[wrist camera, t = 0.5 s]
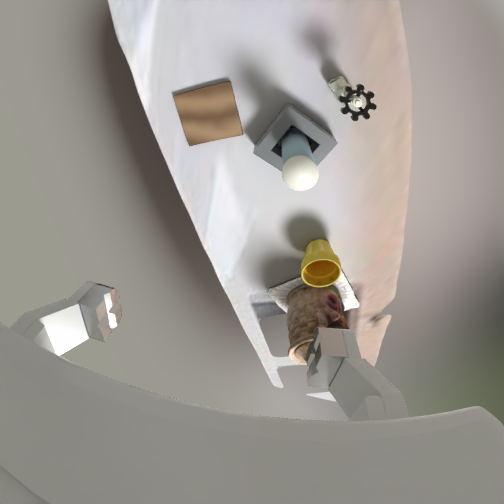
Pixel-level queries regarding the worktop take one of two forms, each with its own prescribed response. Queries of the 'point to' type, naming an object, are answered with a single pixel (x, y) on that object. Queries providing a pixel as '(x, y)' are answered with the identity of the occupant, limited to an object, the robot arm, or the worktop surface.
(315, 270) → the plant pot
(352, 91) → the valve
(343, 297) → the cookie jar
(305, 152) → the blue bottle
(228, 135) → the board
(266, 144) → the housing
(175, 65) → the worktop surface
